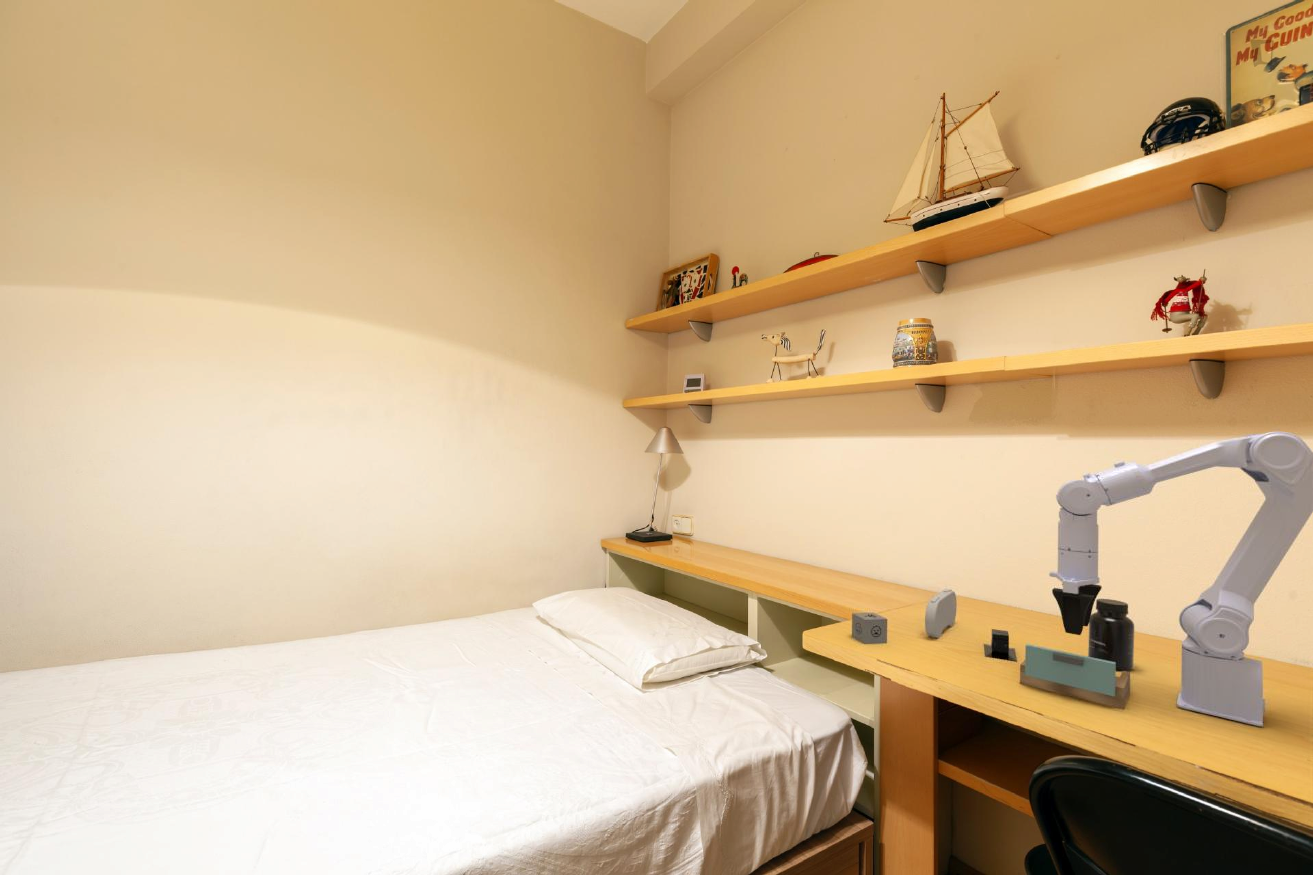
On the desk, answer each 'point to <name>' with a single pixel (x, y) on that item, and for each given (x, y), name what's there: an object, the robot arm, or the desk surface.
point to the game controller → (940, 613)
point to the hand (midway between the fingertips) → (1076, 629)
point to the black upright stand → (1000, 646)
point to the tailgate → (1070, 669)
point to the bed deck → (1120, 689)
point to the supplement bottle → (1112, 634)
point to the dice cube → (869, 628)
